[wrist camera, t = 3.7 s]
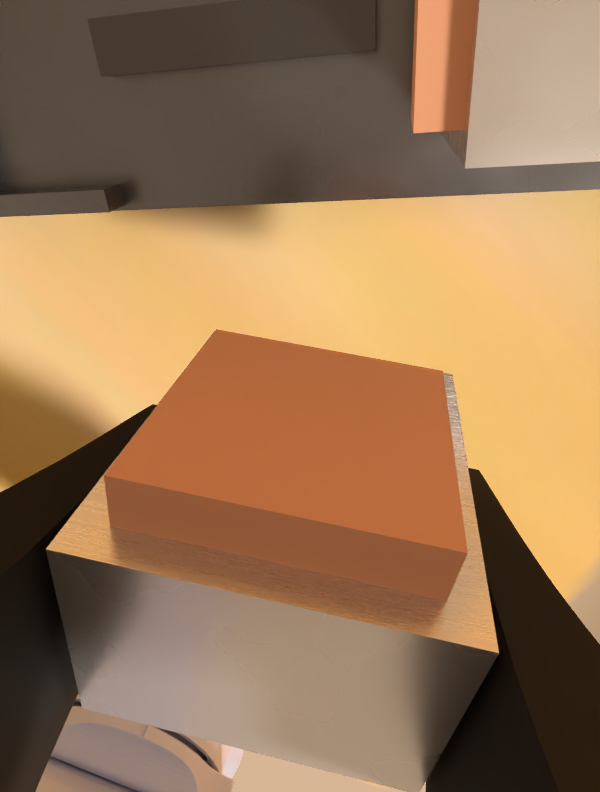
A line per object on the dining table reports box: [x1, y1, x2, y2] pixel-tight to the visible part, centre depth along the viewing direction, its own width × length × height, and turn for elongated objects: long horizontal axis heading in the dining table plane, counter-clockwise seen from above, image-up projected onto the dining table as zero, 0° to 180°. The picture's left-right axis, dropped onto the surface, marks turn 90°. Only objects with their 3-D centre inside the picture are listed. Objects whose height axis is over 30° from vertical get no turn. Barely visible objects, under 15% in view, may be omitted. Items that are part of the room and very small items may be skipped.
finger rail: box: [0, 0, 600, 217], centre depth 11 cm, size 21×8×7 cm, turn 94°
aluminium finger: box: [46, 330, 499, 792], centre depth 9 cm, size 4×5×6 cm
